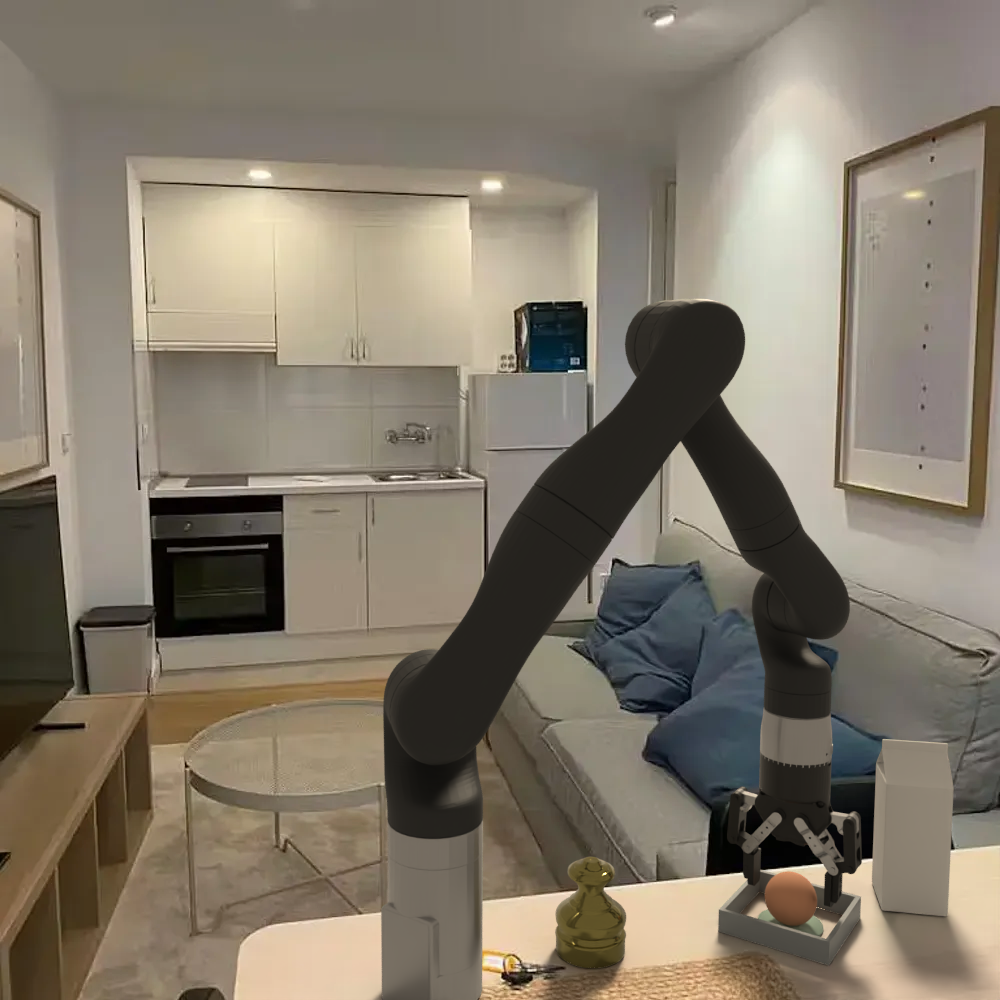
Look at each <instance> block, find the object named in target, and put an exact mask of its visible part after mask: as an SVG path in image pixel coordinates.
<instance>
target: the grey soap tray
mask: <svg viewBox="0 0 1000 1000" xmlns="http://www.w3.org/2000/svg"><path fill="white" fill-rule="evenodd" d="M777 874H778V873H774V872H771V871H767V870H764V869H760V880H759V882H758V883H757V884H756V885H755V886H752V885H749V884H748V883H747V879H745V881H744V882H743V884H742V885H740V887H738V888H737V890H736V891H734V893H733V894H732V895H731V896H730V897H729V898H728V899H727V900H726V901H725V902H724V903H723V905H721V907H719V908H718V921H717V922H718V923H717V925H718V926H717V928H718V929H717V932H719V933H722V934H725V935H729V936H732V937H734V938H738V939H741V940H744V941H748V942H751V943H754V944H758V945H760V946H761V945H762V946H764V947H767V948H771V949H774V950H777V951H780V952H783V953H786V954H790V955H792V956H797V957H799V958H804V959H806V960H810V961H812V962H816V963H819V964H823V965H825V966H826V965H827V966H830V965H831V963H832V962H833V960H834V959H835V957H836V955H837V954H838V953H839V951H840V950H841V948H842V947H843V945H844V944H845V942H846V940H847V939H848V937H849V935H850V934H851V933H852V932H853V930H854V929H855V927H856V926H857V924H856V923H858V922H859V920H860V919H861V912H862V911H861V909H862V907H861V905H862V904H861V903H862V896H860V895H857V894H854V893H850V892H845V891H843V890H842V895H841V897H840V899H839V900H838V901H837V903H834V904H833V906H832V907H827V906H824V885H821V884H820V885H819V884H816V883H812V882H810V883H811V884H812V886H813V887H814V889H815V892H816V895H817V907H819V908H822V909H821V910H823V909H825V910H824V911H826V910H827V912H830V911H831V913H833V914H837V913H838V915H841V914H842V916H841V917H840V918H839V920H837V923H836V924H835V925H834V927H833V928H832V929H831V931H830V933H829V934H828V935H827V937H826V938H824V937H821V936H822V934H823V932H824V925H823V922H822V921H821V919H819V918H818V917H816V916H815V915H813V916H812V918H811V919H810V920H809V921H807V922H806V923H804V924H801V925H797V926H790V925H785V924H783V923H781V922H779V921H778V920H776V919H775V918H774V917H773V916H772V915H771V914H770V912H769V910H768V908H766V909H765V910H762V911H761V912H760V913H759V914H758V917H757V918H756V917H755V916H754V917H753V916H750V915H747V914H743V913H742V912H743V911H744V910H745V909H746V907H748V906H749V904H750V903H751V902H753V900H754V899H755V898H756V896H757V895H759V893H763V894H765V889H766V886H767V884H768V882H769V881H770V880H771V878H772V877H774V876H775V875H777ZM819 908H818V909H819Z"/></svg>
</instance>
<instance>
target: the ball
mask: <svg viewBox="0 0 1000 1000" xmlns="http://www.w3.org/2000/svg"><path fill="white" fill-rule="evenodd" d="M776 874H777V875H775V876H774V877H772V878H771V880H770V881H769V882H768V884H767V886H766V889H765V893H764V904H765V905H766V909H768V910H769V912H770V914H771V915H772V916H773V917H774V918H775V919H776V920H778V921H779V922H781V923H783V924H785V925H790V926H797V925H801V924H804V923H806V922H807V921H809V920H810V919H811V918H812V916H815V915H814V914H815V913H816V911H817V908H816V907H817V895H816V892H815V889H814V887H813V886H812V884H813V883H812V882H811V881H810V880H809V879H808V878H806V877H805V876H804V875H802V874H800V873H798V872H794V871H789V870H787V871H781V872H779V873H776ZM811 883H812V884H811Z"/></svg>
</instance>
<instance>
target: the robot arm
mask: <svg viewBox="0 0 1000 1000" xmlns="http://www.w3.org/2000/svg"><path fill="white" fill-rule="evenodd" d="M624 340H625V341H624V349H625V356H626V360H627V363H628V365H629V367H630V369H631V371H632V372H633V374H634V376H635V379H634V381H633V382H632V384H631V385H630V386H629V388H628V390H627V391H626V392H625V394H624V396H623V397H622V398H621V399H620V400H619V402H618V403H617V404H616V405H615V407H614V408H613V409H612V410H611V411H610V412H609V413H608V414H607V415H606V416H605V417H604V418H603V419H602V420H601V421H599V423H597V424H596V425H595V426H594V427H592V428H591V429H590V430H589V431H587V432H586V433H585V434H584V435H582V436H581V437H580V438H579V439H577V440H576V441H575V442H574V443H573V444H571V445H570V446H569V447H567V449H566V450H564V451H563V452H561V453H560V455H558V457H556V459H554V460H553V461H552V462H551V463H550V464H549V465H548V466H547V467H546V468H545V469H544V470H543V472H542V473H541V474H540V475H539V477H538V478H537V479H536V481H535V482H534V483H533V485H532V487H530V489H529V491H528V492H527V493H526V494H525V496H524V498H523V499H522V500H521V501H520V503H519V505H518V506H517V508H516V509H515V510H514V512H513V513H512V515H511V517H510V518H509V520H508V521H507V523H506V525H505V526H504V528H503V530H502V531H501V534H500V536H499V538H498V540H497V543H496V544H495V547H494V550H493V552H492V554H491V557H490V560H489V561H488V564H487V567H486V569H485V572H484V575H483V577H482V580H481V582H480V585H479V588H478V589H477V592H476V595H475V597H474V599H473V601H472V603H471V605H470V606H469V608H468V610H467V611H466V613H465V614H464V616H463V618H462V619H461V621H460V622H459V623H458V625H457V626H456V628H455V629H453V631H452V632H451V634H450V635H449V636H448V637H447V638H446V640H445V642H443V644H442V645H441V646H440V648H439V649H434V648H429V649H428V648H427V649H422V650H417V651H414V652H413V653H411V654H409V655H407V656H406V657H404V658H402V660H400V661H399V662H398V663H397V664H396V665H395V666H394V668H393V669H392V671H391V672H390V674H389V676H388V678H387V680H386V684H385V686H384V687H385V688H384V692H383V703H382V704H383V708H382V709H383V710H382V711H383V712H382V715H383V717H382V718H383V719H382V720H383V724H382V725H383V762H384V763H383V768H384V769H383V770H384V771H383V772H384V785H385V786H384V787H385V795H386V797H385V798H386V807H387V808H386V809H387V810H386V811H387V813H386V815H387V817H386V819H387V903H384V905H383V906H382V907H381V909H380V912H381V913H380V914H381V916H380V917H381V918H380V921H381V924H380V925H381V926H380V927H381V935H380V936H381V940H380V941H381V1000H479V998H480V997H481V994H482V992H483V915H484V914H483V910H484V909H483V908H484V907H483V901H484V900H483V896H484V895H483V891H484V890H483V889H484V888H483V887H484V886H483V885H484V884H483V883H484V882H483V878H484V877H483V872H484V871H483V868H484V864H483V861H484V860H483V857H484V855H483V854H484V852H483V851H484V828H483V827H484V797H483V796H484V794H483V789H482V784H481V781H480V780H481V779H480V774H479V766H478V758H477V753H478V752H477V747H478V745H479V744H480V742H481V741H482V740H483V738H484V737H485V736H486V733H487V732H488V731H489V729H490V727H491V725H492V723H493V721H494V720H495V718H496V717H497V714H498V713H499V711H500V709H501V707H502V705H503V703H504V701H505V699H506V698H507V696H508V694H509V692H510V690H511V688H512V687H513V685H514V683H515V681H516V679H517V677H519V676H518V675H520V672H521V671H522V669H523V667H524V665H525V663H527V660H528V659H529V657H530V655H532V652H533V651H534V649H535V648H536V647H537V645H538V644H539V642H540V641H541V639H543V637H544V636H545V634H546V632H548V630H550V628H551V626H552V625H553V624H554V622H555V621H556V620H557V618H558V617H559V616H560V614H561V612H562V611H563V610H564V608H566V606H567V604H568V603H569V601H570V600H571V599H572V597H573V595H574V593H575V592H576V591H577V590H578V589H579V587H580V586H581V584H582V583H583V581H584V580H585V579H586V578H587V577H588V575H589V574H590V573H591V571H592V570H593V569H594V567H595V565H596V564H597V562H598V561H599V560H600V558H601V557H602V556H603V554H604V553H605V551H606V550H607V548H608V547H609V546H610V544H611V542H613V541H612V540H613V539H614V538H615V536H616V535H617V533H618V531H619V530H620V528H621V527H622V525H623V524H624V522H625V520H626V519H627V517H628V516H629V515H630V513H631V511H632V510H633V509H634V507H635V506H636V504H637V503H638V502H639V501H640V499H641V497H642V496H643V495H644V493H645V492H646V491H647V489H648V488H649V486H650V484H651V483H652V482H653V480H654V479H655V477H656V476H657V474H658V473H659V471H661V468H662V467H663V465H664V463H665V462H666V461H667V459H668V458H669V456H670V455H671V454H672V453H673V451H674V450H675V449H676V447H678V445H679V444H680V443H681V444H682V445H683V447H684V449H685V450H686V452H687V454H688V455H689V457H690V459H691V460H692V462H693V464H694V466H695V467H696V469H697V471H698V472H699V474H700V476H701V477H702V479H703V482H704V483H705V485H706V487H707V488H708V490H709V492H710V494H711V497H713V500H714V502H715V504H716V507H717V508H718V511H719V513H720V515H721V516H722V519H723V521H724V523H725V525H726V527H727V529H728V530H729V533H730V535H731V537H732V539H733V541H734V544H735V545H736V548H737V550H738V551H739V554H740V555H741V557H742V559H743V560H744V561H745V563H747V565H748V566H750V567H752V568H753V569H755V570H758V571H760V572H761V573H763V574H762V575H761V576H760V577H759V579H758V580H757V582H756V583H755V587H754V590H753V593H752V599H751V613H752V621H753V626H754V631H755V634H756V639H757V645H758V648H759V649H758V650H759V654H760V657H761V661H762V665H763V668H764V684H763V685H764V687H763V710H762V711H763V713H762V718H761V723H760V724H761V725H760V743H759V744H760V745H759V776H758V777H759V780H758V785H759V786H758V788H759V789H758V790H759V791H758V794H757V793H753V792H749V790H748V788H747V787H745V786H740V787H739V788H737V789H736V790H734V791H733V792H732V793H731V794H730V796H729V797H730V799H729V809H728V820H727V823H728V824H727V831H726V839H727V842H729V844H733V845H737V846H739V847H740V848H741V850H742V851H743V854H742V855H743V856H742V860H743V862H742V875H743V878H744V879H745V880H747V883H748V884H749V885H752V886H755V885H756V884H757V883H758V882H759V880H760V870H761V861H762V859H761V858H762V857H761V856H762V853H761V852H762V848H761V847H759V845H760V844H761V843H762V842H763V841H764V840H765V839H766V838H767V837H768V836H769V835H770V834H771V835H772V836H773V837H774V838H775V840H776V841H781V842H791V843H792V844H794V845H796V846H800V847H805V846H807V845H808V846H809V848H810V850H811V852H812V854H814V856H815V857H816V858H818V859H819V860H820V862H821V863H822V865H823V866H824V868H825V870H826V872H825V874H824V882H823V883H824V885H823V886H824V906H827V907H832V906H833V904H834V903H837V901H838V900H839V899H840V897H841V895H842V891H843V874H849V875H854V874H855V873H856V872H857V870H858V868H859V867H860V866H861V865H862V863H863V862H862V861H863V860H862V858H863V855H862V854H863V853H862V823H861V822H862V821H861V819H862V817H861V814H860V813H858V812H857V811H851V812H850V813H843V812H838V811H834V810H833V808H832V805H831V784H832V760H833V759H832V755H833V752H834V744H833V727H832V717H831V716H832V715H831V707H832V683H833V682H832V681H833V676H832V670H831V666H830V665H829V664H828V662H826V661H825V660H824V659H823V658H822V657H820V656H819V655H818V654H816V653H815V652H814V651H812V649H811V647H810V645H809V642H808V639H811V640H820V641H822V640H828V639H831V638H833V637H836V636H837V635H838V634H840V633H841V632H842V631H843V630H844V628H845V627H846V624H847V623H848V620H849V617H850V614H851V613H850V611H851V610H850V609H851V604H850V603H851V602H850V596H849V593H848V589H847V587H846V584H845V582H844V580H843V578H842V576H841V575H840V573H839V572H838V570H837V569H836V568H835V566H834V565H833V564H832V563H831V561H830V560H829V558H828V557H827V556H826V555H825V553H824V552H823V551H822V549H821V548H820V547H819V546H818V544H817V543H816V542H815V541H814V540H813V539H812V538H811V537H810V536H809V535H808V534H807V532H806V531H805V529H804V527H803V524H802V522H801V519H800V518H799V515H798V513H797V511H796V508H795V506H794V504H793V502H792V499H791V498H790V496H789V494H788V491H787V489H786V487H785V485H784V483H783V481H782V479H781V478H780V476H779V474H778V473H777V471H776V470H775V468H774V467H773V466H772V465H771V463H770V461H769V460H768V459H767V458H766V457H765V455H764V454H763V453H762V452H761V450H760V449H759V448H758V447H757V446H756V445H755V444H754V442H753V441H752V439H750V437H749V436H748V435H747V433H745V431H744V430H743V429H742V427H741V426H740V425H739V423H738V422H737V421H736V419H735V417H734V416H733V415H732V413H731V411H730V409H729V408H728V407H727V405H726V403H725V401H724V399H723V398H722V396H721V395H722V393H723V392H724V391H725V389H726V388H727V387H728V386H729V385H730V384H731V382H732V381H733V380H734V377H735V376H736V373H737V372H738V369H739V367H740V366H741V364H742V362H743V361H742V360H743V358H744V353H745V347H746V332H745V328H744V324H743V322H742V320H741V317H740V315H739V314H738V313H737V312H736V311H735V309H733V308H732V307H730V306H729V305H727V304H725V303H723V302H721V301H716V300H712V299H706V298H680V299H666V300H660V301H655V302H652V303H650V304H648V305H646V306H643V308H641V309H640V310H639V311H637V313H636V314H635V315H634V316H633V317H632V319H631V322H630V323H629V325H628V326H627V330H626V334H625V339H624ZM753 806H754V807H755V810H756V811H757V813H758V814H759V816H760V818H761V820H762V823H761V825H760V826H758V828H757V829H756V830H755V831H754V832H753V833H752V834H749V833H748V832H746V825H747V824H746V823H747V813H748V812H749V810H751V809H752V807H753ZM831 824H833V825H835V826H836V828H837V832H838V833H839V834H840V835H842V836H843V837H842V839H843V840H842V841H843V856H842V855H841V853H840V852H839V850H838V849H837V847H836V845H835V840H834V838H833V837H832V835H831V834H830V832H829V831H828V829H827V828H828V827H830V825H831Z"/></svg>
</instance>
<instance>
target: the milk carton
mask: <svg viewBox="0 0 1000 1000" xmlns="http://www.w3.org/2000/svg"><path fill="white" fill-rule="evenodd" d="M875 763H876V764H875V788H874V789H875V790H874V813H873V815H874V817H873V840H872V843H873V844H872V865H871V866H872V868H871V869H872V871H871V883H872V886H873V889H874V892H875V894H876V897H877V900H878V903H879V905H880V909H881V910H882V911H886V912H887V911H888V912H898V913H904V914H905V913H908V914H917V915H918V914H919V915H925V916H926V915H928V916H939V917H948V915H949V896H950V894H949V893H950V872H951V851H952V833H953V832H952V829H953V809H954V807H953V806H954V805H953V804H954V789H955V787H954V782H953V777H952V770H951V764H950V759H949V743H947V742H933V741H930V742H929V741H917V740H916V741H915V740H903V739H902V740H901V739H886V738H883V739H882V741H881V750H880V752H879V755H878V757H877V759H876V762H875Z"/></svg>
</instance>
